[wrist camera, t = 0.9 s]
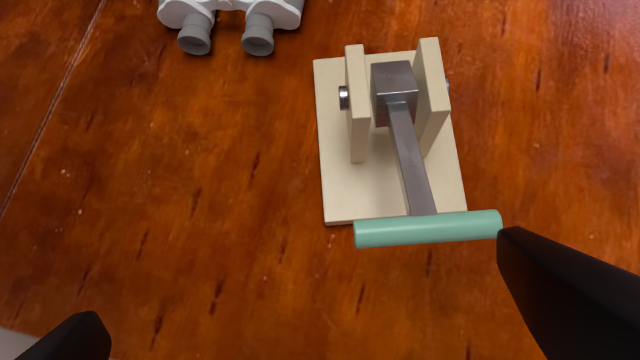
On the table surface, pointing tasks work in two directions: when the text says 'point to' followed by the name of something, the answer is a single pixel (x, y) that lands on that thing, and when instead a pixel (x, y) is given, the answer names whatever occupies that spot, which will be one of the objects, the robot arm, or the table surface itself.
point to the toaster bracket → (381, 137)
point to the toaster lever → (412, 173)
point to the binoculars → (201, 3)
